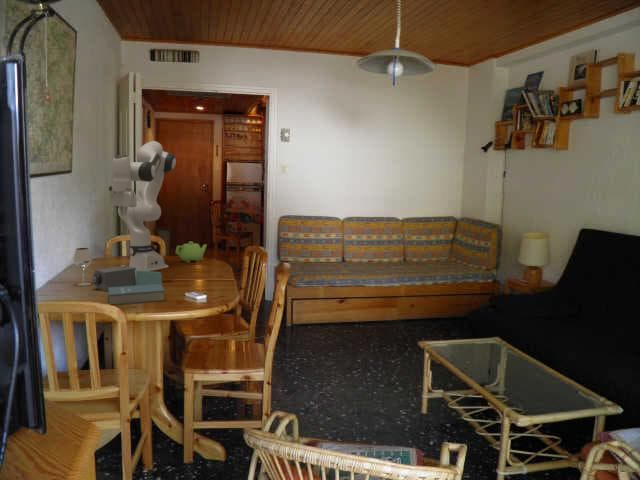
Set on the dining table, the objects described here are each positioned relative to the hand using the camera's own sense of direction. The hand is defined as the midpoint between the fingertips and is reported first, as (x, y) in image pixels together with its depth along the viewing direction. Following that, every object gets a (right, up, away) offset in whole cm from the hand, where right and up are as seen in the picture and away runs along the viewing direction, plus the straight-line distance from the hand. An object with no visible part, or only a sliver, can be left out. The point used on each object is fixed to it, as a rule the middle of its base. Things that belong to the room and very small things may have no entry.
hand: (123, 215), depth 264 cm
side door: (+15, -35, -7) cm, 39 cm away
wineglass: (-19, -35, -2) cm, 40 cm away
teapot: (+18, -26, +68) cm, 75 cm away
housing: (-2, -35, -8) cm, 36 cm away
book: (+17, -39, -29) cm, 52 cm away
